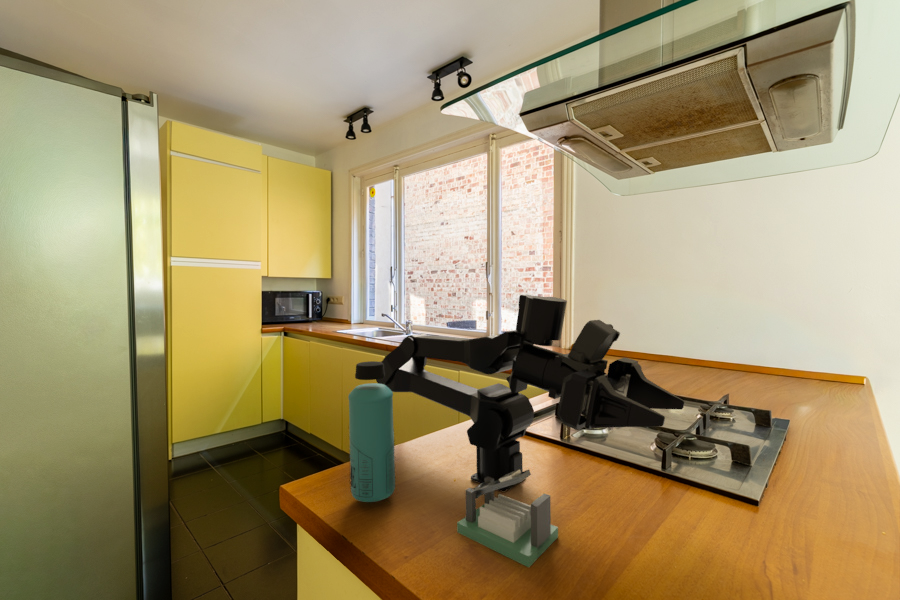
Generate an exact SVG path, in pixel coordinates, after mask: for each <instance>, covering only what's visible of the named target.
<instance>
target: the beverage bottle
mask: <svg viewBox="0 0 900 600" xmlns="http://www.w3.org/2000/svg"><path fill="white" fill-rule="evenodd" d="M354 377H355V379H356V380H360V381H371V380H373V381H374V380H375V381H376V379H381V378H384V377H385V372H384V364H383V363H382V362H381V361H362V362H358V363H356V365H355V374H354ZM347 396H348V398H347V399H348V409H349V410H348V411H349V412H348V414H349V417H348V418H349V424H348V425H349V426H348V432H349V433H348V434H349V437H348V439H349V454H348V456H349V459H350V460H349V480H350V482H349V484H350V487H349V488H350V493H351V496H352V497H353V498H354V499H355V500H356V501H359V502H365V503H373V502H380V501H382V500H386V499H387V498H389V497H391V496H392V495H393V493H394V492H395V488H396V487H397V485H396V474H395V473H396V471H395V470H397V468H396V456H395V451H396V449H395V447H396V445H395V444H396V442H395V441H396V439H395V429H394V407H393V406H394V405H393V404H394V403H393V401H394V400H393V398H394V397H393V396H394V392H392V391H391V390H390V389H389V388H388V387H387V386H386V385H384V384H378V383H377V382H376V383H375V382H374V383H363V384H359V385H356V386H355V387H354V388H353V390H351V391H350V392H349V393H348V395H347Z"/></svg>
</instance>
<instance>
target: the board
mask: <svg viewBox="0 0 900 600" xmlns="http://www.w3.org/2000/svg"><path fill="white" fill-rule="evenodd" d="M484 482H485V483H487V484H488V483H491V482H494V478H491V477H486V478H484ZM483 495H484V503H483V504H482V505H481V506H480V507H479V506H478V508H477V499H476V490H474V488H471V487H468V488H466V489H465V517H463V518H461V520H459V521H457V523H456V525H457V526H456V527H457V528H456V532H457V533H458V534H460V535H461V536H464V537H466V538H467V539H469V540H472V541H474V542H476V543H478V544H480V545H482V546H485V548H488V549H490V550H493V552H496V553H498V554H500V555H502V556H503V557H507V558H508V559H511V560H513V561H514V562H517V563H518V564H520V565H523V566H525V567H526V568H530V567H531V566H532V565H534V563H535V562H536V561H537V560H538V559H539V557H541V555H542V554H543V553H544V552H546V550H547V549H549V547H550V546H551V545H552V544H553V543H554V542H555V541H556V540H557V539H558V537H559V527H558V526H557V525H554V524H552V523H551V520H552V519H551V516H552V515H551V514H552V513H551V495H550V494H547V493H542V494H541V495H540V496H539V497H537V498H536V499H535V500H534V501H532V502H531V503H530V504H527V503H525V502H522V501H520V500H517V499H515V498H513V497H509V496H507V495H503V494H501V493H498V494H497V496H495V490H494V491H491V492H488V493H485V494H483Z"/></svg>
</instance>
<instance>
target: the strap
mask: <svg viewBox="0 0 900 600" xmlns="http://www.w3.org/2000/svg"><path fill="white" fill-rule="evenodd" d="M531 476H532V473H531V471H530V469H526V470H524V471H523V472H521V471H520V469H519V470H516V471H513V472H510V473H508V474H506V475H504V476H503V477H501V478H500V479H499V480H497V481H494V482H491V483H488V484H487V483H485V482H483V483H482V484H481V483H479V484H478V485H477V486H475V487H474V488H473V489H474V490H476V500H477V499H479V498H480V497H482V496H483V495H484V494H485V493H488V492H491V491H494V492H495V491H498V490H497V489H500V488H504V487H507V486H510V485H513V484H515V485H517V484H519V483H521V482H523V481H524V480H526V479H527V478H529V477H531ZM516 483H517V484H516Z"/></svg>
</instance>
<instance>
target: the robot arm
mask: <svg viewBox="0 0 900 600" xmlns="http://www.w3.org/2000/svg"><path fill="white" fill-rule="evenodd" d="M567 303H568V301H567V300H566V299H564V298H559V297H554V296H540V295H532V294H520V295H519V298H518V313H517V321H516V326H515V330H509V331H508V330H507V331H503V332H502V333H500V334H497V335H488V336H481V337H476V338H475V337H474V338H468V337H467V338H466V337H465V338H464V337H455V336H454V337H452V336H439V335H428V334H426V333H421V334H412V335H411V334H410V335H407V336H406V337H404V338H403V339H402V341H401V342H400V343H399V345H398V346H397V347H395V348H394V349H393V350H392V351H390V352H389V353H388V354H387V355H386V356H384V358H383V360H382V361H380V362H382V363H383V364H384V372H385V377H384V378H381V379H375V381H376V383H378V384H384V385H386V386H387V387H388V388H389V389H390V390H391V391H392V392H393V393H413V394H415V395H418V396H420V397H422V398H425V399H427V400H429V401H432V402H434V403H435V404H436V403H437V404H439V405H440V406H444V407H446V408H448V409H451V410H453V411H456V412H458V413H461V414H463V415H465V416H468V417H469V418H470V420H471V421H472V422H473V424H472V425H471V426H470V427H469V428H468V429H467V430H466V435H467V437H468V442H469V445H471V446H475V447H476V450H475V451H476V473H473V474H472V475H470V480H471V481H473V482H476V483H478V484H482V483H483V482H484V478H486V477H491V478H494V481H497V480H499V479H500V478H501V477H503V476H504V475H506V474H508V473H510V472H513V471H516V470H519V469H520V471H521V472H524V471H523V452H522V451H521V443H520V441H519V440H517V439H519V438H522V437H523V438H524V437H525V435H526V431H527V429H528V428H529V427H531V425H532V423H533V421H534V419H535V418H534V417H535V415H534V414H535V412H534V408H533V405H532V403H531V401H530V399H529V398H528V397H527V396H526V395H524V394H523V393H521V392H522V391H526V390H527V389H528V385H530V386H531V387H535V388H537V389H541V390H542V391H545V392H548V395H547V396H548V398H551V399H553V400H557V399H559V403H558V408H557V413H556V415H558V418H559V420H560V421H561V423H562V425H563V426H566V427H568V428H571V429H573V430H576V431H580V430H581V429H584V428H585V429H586V430H591V429H607V428H608V429H609V428H610V429H611V428H638V427H640V428H642V427H643V428H644V427H645V428H647V427H648V428H651V427H663V426H664V424H665V420H666V417H665V415H664V414H661V413H659V412H657V411H655V410H683V409H684V406H685V403H686V402H685V400H684V399H682V398H681V397H679V396H677V395H676V394H673V393H672V392H670V391H669V390H667V389H665V388H663V387H661V386H660V385H658V384H656V383H655V382H653V381H652V380H649V379H648V378H647V377H646V375H645V373H644V372H643V370H642V369H643V368H642V366H641V365H640V364H639V360H635V359H632V358H629V357H621V358H619V359H616V360H614V361H612V362H610V363H609V362H608V360H607V359H604V358H605V356H606V355H607V354H608V352H609V350H610V349H611V347H612V346H613V345H614V342H616V341H618V339H619V337H620V335H621V332H620V331H618V330H617V329H615V328H614V325H612V324H611V323H605V322H604V321H602V320H600V319H594V320H591V319H590V320H589V321H587V322H586V323H585V324H584V326H583V327H582V328H581V331H580V332H579V334H578V336H577V337H576V339H575V341H574V343H573V345H572V346H571V349H570V351H569V353H562V352H558V351H554V350H551V349H548V348H544V347H551V346H553V342H554V341H560V340H561V338H562V334H563V333H562V332H563V328H564V321H565V316H566V315H565V314H566V308H567ZM541 346H542V347H541ZM427 359H435V360H436V359H437V360H442V361H449V362H457V363H462V364H465V366H467V367H469V368H470V369H471V370H474V371H477V372H479V373H481V374H485V375H494V374H497V373H501V372H505V371H510V370H511V373H510V375H509V376H506V381H507V383H508V386H507V385H505V384H503V383H499V382H498V383H496V384H492V385H488V386H485V387H482V388H476V387H473V386H470V385H467V384H465V383H462V382H459V381H456V380H453V379H451V378H448V377H444V376H442V375H440V374H436V373H433V372H430V371H428V370H426V369H425V368H426V365H427ZM608 363H609V365H608ZM607 366H608V367H607ZM607 368H608V369H607ZM606 370H607V372H605V371H606ZM517 484H518V483H516V484H513V485H510V486H507V487H504V488H500V489H497V490H496V491H500V492H506V491H508V490H510V489H512V487H514V486H515V485H517Z"/></svg>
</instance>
